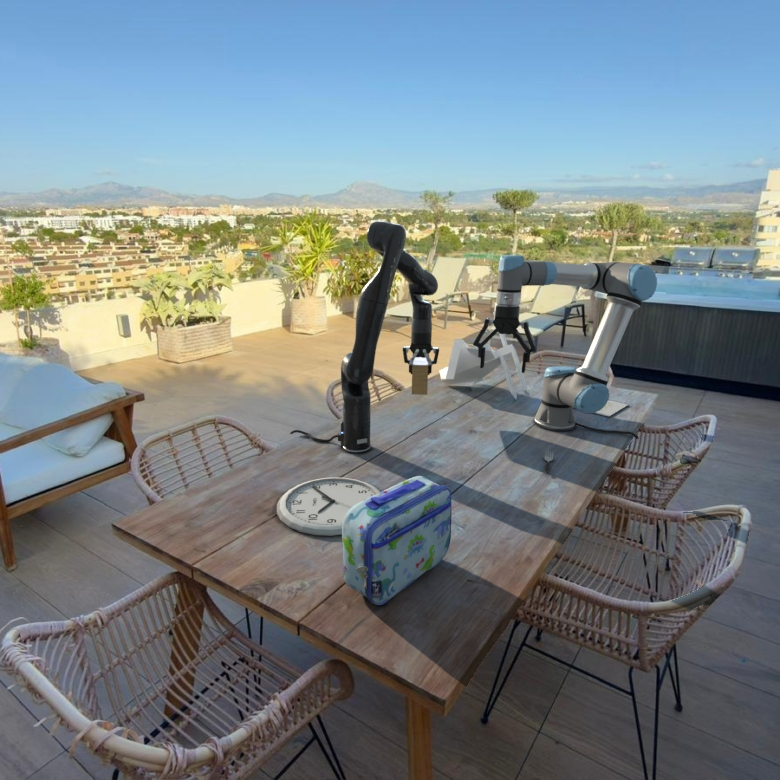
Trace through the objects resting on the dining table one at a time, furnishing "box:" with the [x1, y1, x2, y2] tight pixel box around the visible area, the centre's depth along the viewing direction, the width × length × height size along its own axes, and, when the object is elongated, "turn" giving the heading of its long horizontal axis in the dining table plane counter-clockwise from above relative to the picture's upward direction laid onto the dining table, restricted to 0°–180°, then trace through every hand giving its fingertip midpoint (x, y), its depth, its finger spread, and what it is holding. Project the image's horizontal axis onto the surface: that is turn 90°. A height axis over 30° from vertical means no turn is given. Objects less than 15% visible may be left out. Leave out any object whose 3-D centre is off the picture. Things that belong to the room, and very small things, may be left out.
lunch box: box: [341, 475, 453, 606], centre depth 111 cm, size 26×11×21 cm, turn 134°
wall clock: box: [276, 476, 382, 537], centre depth 142 cm, size 30×2×30 cm
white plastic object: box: [438, 311, 531, 400], centre depth 245 cm, size 37×45×31 cm
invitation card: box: [595, 399, 629, 418], centre depth 226 cm, size 21×1×15 cm
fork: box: [544, 449, 554, 474], centre depth 169 cm, size 3×16×2 cm, turn 160°
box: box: [411, 357, 429, 396], centre depth 208 cm, size 27×6×12 cm, turn 176°
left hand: (420, 373), depth 198 cm, fingers closed on box, 6 cm apart
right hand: (502, 369), depth 173 cm, fingers open, 13 cm apart
